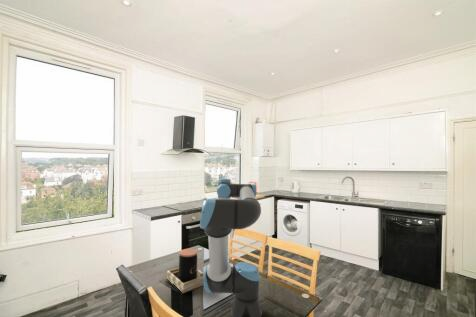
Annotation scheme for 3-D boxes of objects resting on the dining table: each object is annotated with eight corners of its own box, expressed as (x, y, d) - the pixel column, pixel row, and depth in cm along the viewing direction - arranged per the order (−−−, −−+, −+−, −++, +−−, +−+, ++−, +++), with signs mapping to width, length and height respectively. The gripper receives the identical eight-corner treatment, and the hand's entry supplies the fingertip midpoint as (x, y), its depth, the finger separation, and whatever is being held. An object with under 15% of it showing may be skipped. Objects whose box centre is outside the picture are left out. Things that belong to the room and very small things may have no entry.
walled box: (206, 283, 141) (206, 275, 141) (182, 293, 131) (182, 284, 131) (189, 271, 156) (189, 263, 156) (166, 279, 146) (167, 271, 146)
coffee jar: (192, 287, 135) (193, 256, 136) (175, 285, 138) (176, 254, 138) (199, 278, 146) (200, 249, 146) (183, 276, 148) (184, 247, 148)
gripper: (235, 201, 154) (234, 233, 154) (203, 205, 138) (202, 241, 138) (243, 202, 148) (242, 236, 148) (210, 207, 132) (209, 245, 132)
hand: (223, 239), depth 143 cm, fingers open, 13 cm apart
